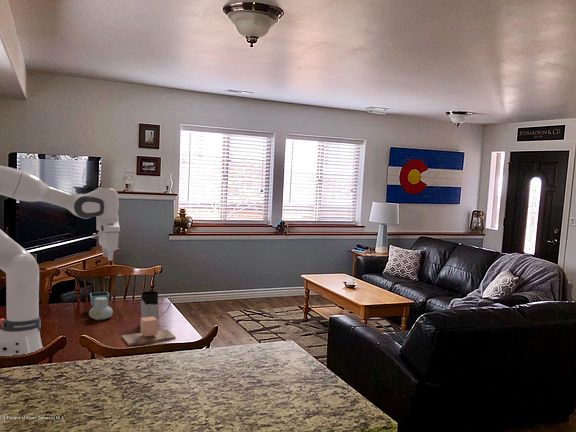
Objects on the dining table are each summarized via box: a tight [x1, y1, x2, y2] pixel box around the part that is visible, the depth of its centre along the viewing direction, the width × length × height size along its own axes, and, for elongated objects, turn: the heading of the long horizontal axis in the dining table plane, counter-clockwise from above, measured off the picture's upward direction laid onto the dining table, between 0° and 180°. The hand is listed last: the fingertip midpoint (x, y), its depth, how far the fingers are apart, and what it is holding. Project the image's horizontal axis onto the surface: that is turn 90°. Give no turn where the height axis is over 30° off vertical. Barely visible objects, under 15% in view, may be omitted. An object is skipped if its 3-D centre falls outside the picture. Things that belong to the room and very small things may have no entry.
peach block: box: [140, 316, 158, 336], centre depth 219 cm, size 6×6×7 cm
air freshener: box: [88, 297, 114, 321], centre depth 247 cm, size 11×8×10 cm
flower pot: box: [89, 291, 110, 309], centre depth 260 cm, size 9×9×9 cm
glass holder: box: [139, 290, 172, 326], centre depth 241 cm, size 9×14×15 cm, turn 109°
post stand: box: [121, 328, 177, 347], centre depth 220 cm, size 20×12×8 cm, turn 121°
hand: (107, 258), depth 213 cm, fingers open, 8 cm apart
